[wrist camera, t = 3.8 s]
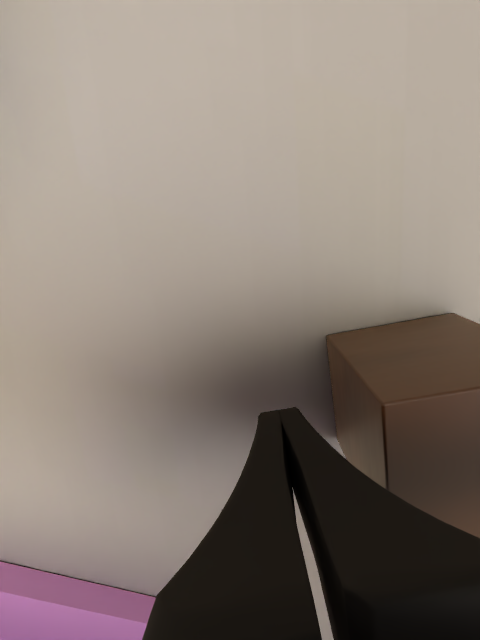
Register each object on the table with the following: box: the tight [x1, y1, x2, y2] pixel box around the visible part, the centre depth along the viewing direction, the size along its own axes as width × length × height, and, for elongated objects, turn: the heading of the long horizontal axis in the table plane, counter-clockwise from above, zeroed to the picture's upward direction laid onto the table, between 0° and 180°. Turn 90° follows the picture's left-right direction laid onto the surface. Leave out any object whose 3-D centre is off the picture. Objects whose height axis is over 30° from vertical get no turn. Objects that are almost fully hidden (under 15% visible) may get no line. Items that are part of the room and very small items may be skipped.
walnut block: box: [326, 313, 480, 538], centre depth 11 cm, size 5×5×5 cm
